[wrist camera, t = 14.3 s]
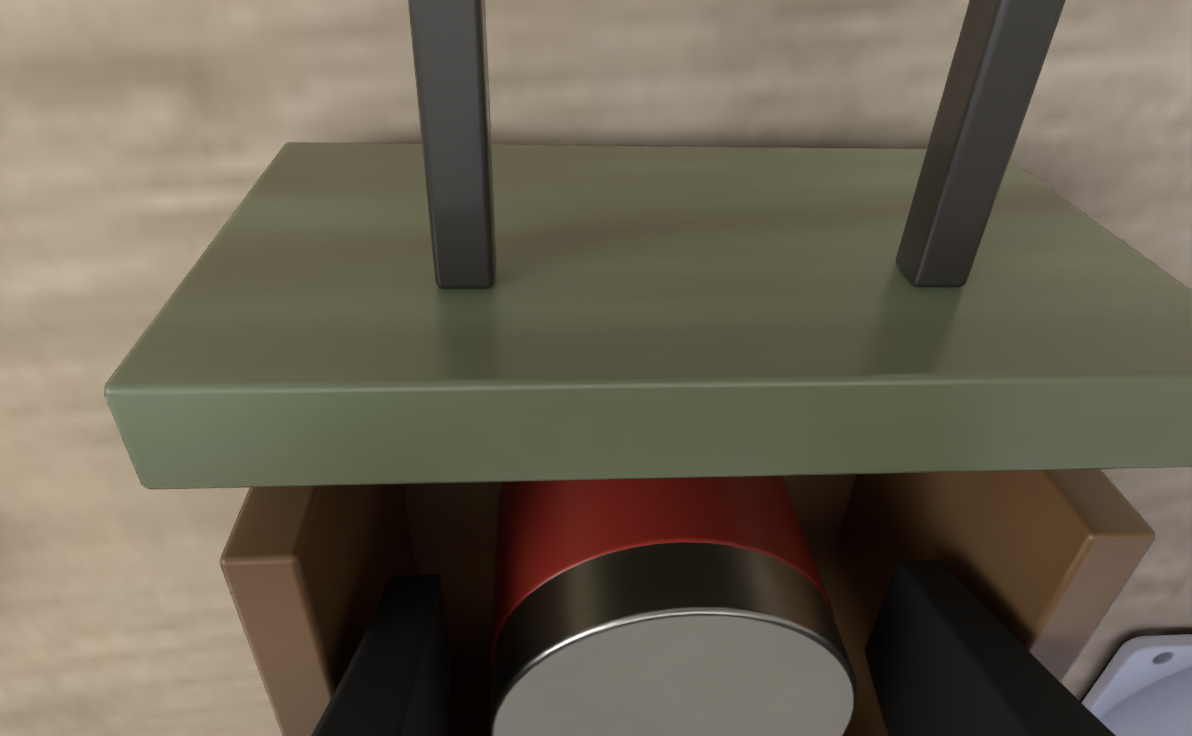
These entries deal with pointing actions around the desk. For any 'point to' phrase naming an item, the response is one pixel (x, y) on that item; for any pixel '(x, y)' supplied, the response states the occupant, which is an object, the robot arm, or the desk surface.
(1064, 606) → the drawer
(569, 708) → the can
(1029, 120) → the desk surface
